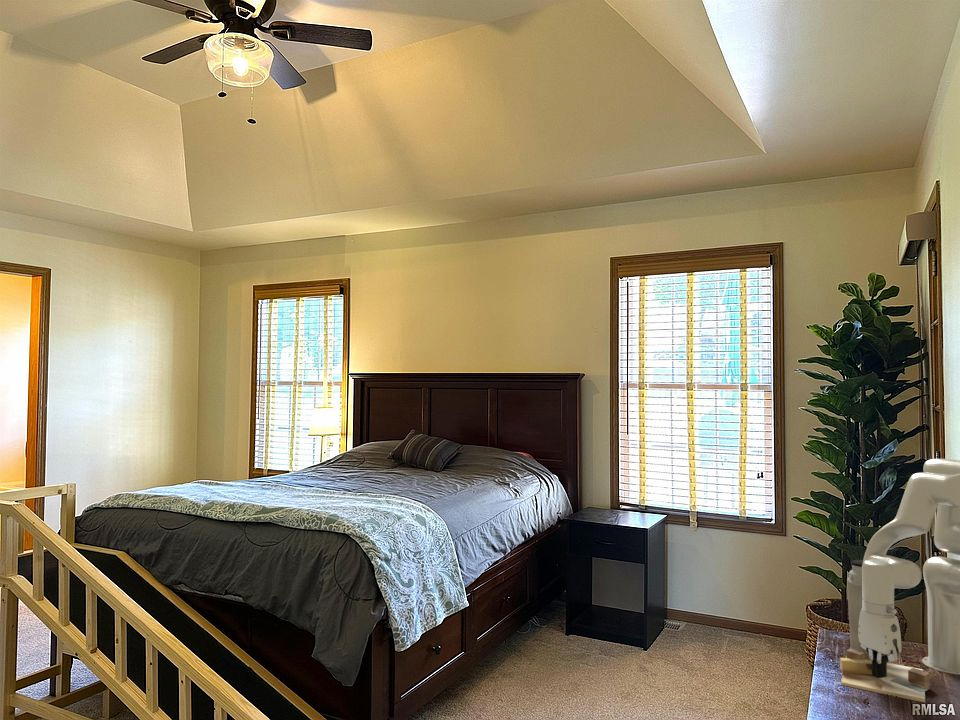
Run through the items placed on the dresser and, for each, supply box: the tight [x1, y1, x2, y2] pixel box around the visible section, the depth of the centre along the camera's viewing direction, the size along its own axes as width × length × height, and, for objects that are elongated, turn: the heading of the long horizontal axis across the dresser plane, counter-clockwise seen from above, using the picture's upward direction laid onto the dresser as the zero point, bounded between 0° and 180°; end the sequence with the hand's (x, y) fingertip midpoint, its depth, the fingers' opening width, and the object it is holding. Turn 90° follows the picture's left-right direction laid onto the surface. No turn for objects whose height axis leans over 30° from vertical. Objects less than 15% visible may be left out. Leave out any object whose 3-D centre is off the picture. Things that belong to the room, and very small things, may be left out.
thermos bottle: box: [846, 559, 870, 660], centre depth 207 cm, size 8×8×28 cm
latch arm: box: [839, 657, 872, 674], centre depth 192 cm, size 8×2×3 cm, turn 78°
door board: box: [840, 648, 931, 703], centre depth 191 cm, size 21×20×5 cm
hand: (878, 676), depth 188 cm, fingers closed
